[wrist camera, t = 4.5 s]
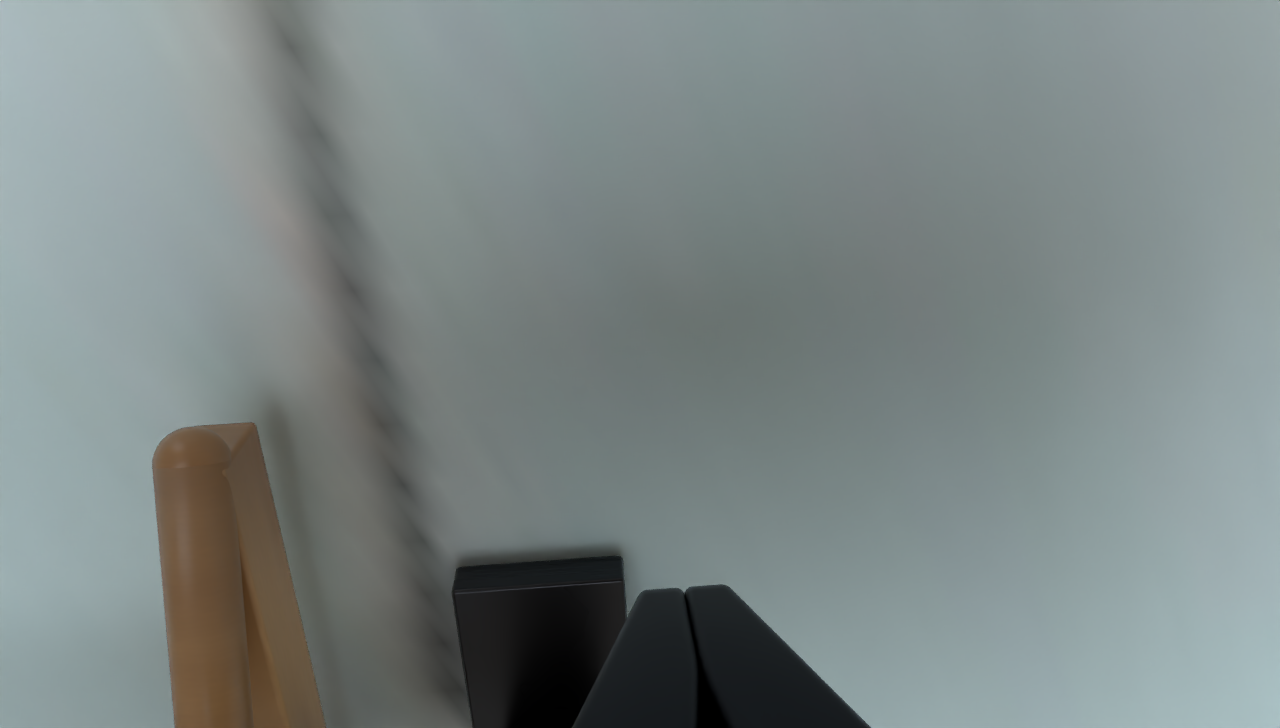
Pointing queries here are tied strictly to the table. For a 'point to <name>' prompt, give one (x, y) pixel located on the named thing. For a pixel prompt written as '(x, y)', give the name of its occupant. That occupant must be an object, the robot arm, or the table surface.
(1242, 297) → the table surface
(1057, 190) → the table surface
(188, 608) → the hanger
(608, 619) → the clothes rail
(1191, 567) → the table surface
